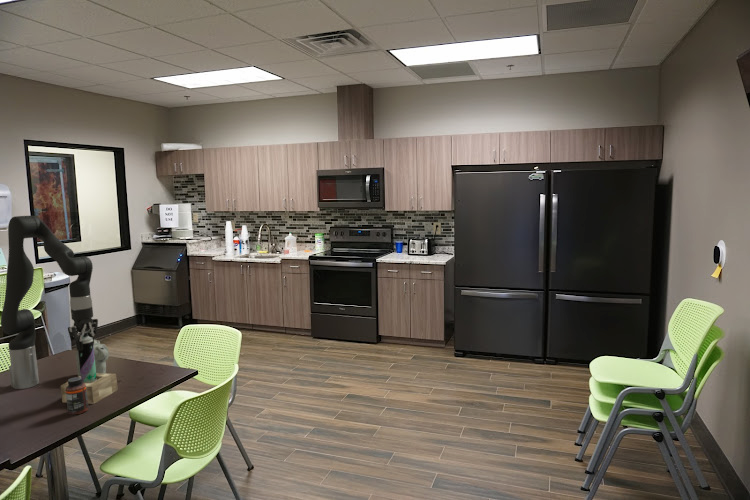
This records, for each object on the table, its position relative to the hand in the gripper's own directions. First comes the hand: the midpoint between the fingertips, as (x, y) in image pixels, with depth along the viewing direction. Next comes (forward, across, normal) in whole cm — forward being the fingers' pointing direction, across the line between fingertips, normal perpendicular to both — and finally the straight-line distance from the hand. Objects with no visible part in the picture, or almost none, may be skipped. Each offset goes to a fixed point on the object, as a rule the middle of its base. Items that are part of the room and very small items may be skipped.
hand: (85, 347), depth 205 cm
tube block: (+20, 0, 0) cm, 20 cm away
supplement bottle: (+20, +14, +6) cm, 26 cm away
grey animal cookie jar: (+21, -21, -15) cm, 33 cm away
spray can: (+14, 0, 0) cm, 14 cm away
